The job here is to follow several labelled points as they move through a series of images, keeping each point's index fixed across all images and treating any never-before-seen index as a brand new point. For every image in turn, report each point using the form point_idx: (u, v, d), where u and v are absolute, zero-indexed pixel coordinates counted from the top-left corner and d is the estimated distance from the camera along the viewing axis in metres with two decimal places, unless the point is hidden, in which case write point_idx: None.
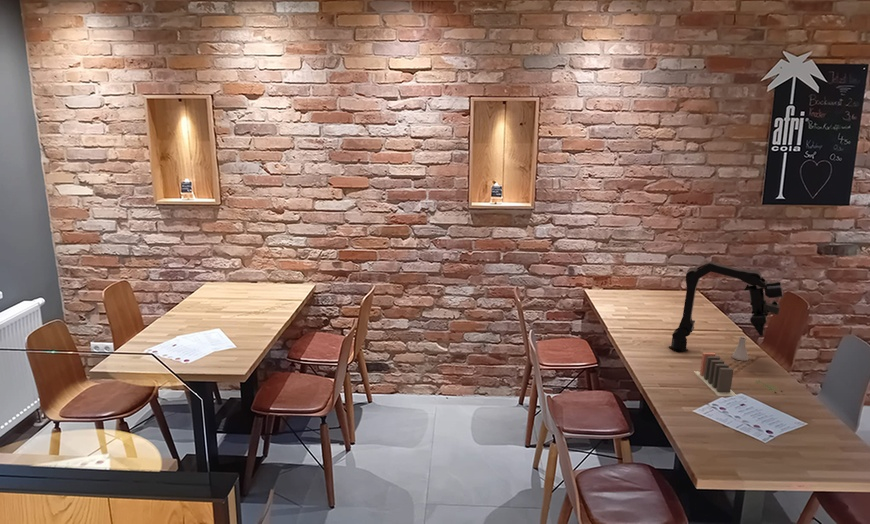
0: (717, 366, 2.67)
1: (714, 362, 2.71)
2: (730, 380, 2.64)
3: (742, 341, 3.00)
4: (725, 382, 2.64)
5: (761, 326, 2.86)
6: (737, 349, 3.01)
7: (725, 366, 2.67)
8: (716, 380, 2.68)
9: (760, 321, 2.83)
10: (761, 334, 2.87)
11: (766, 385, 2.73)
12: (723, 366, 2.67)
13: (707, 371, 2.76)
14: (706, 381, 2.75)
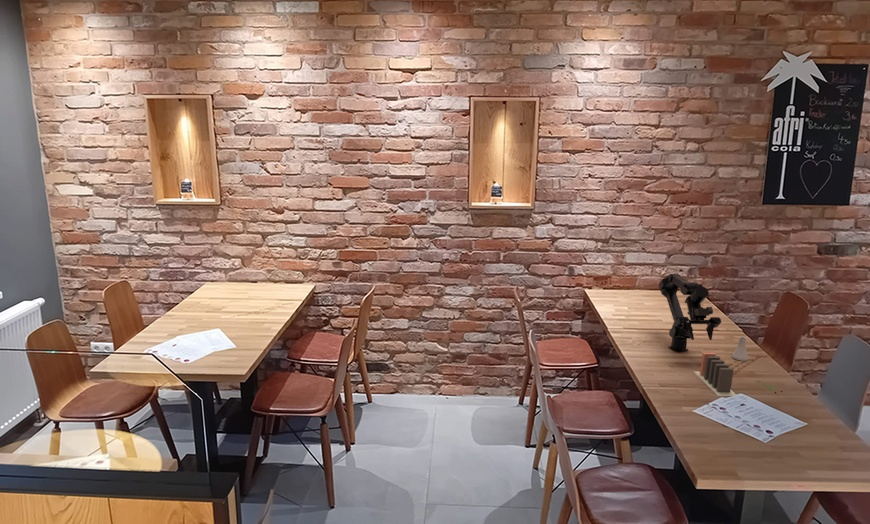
0: (717, 366, 2.67)
1: (714, 362, 2.71)
2: (730, 380, 2.64)
3: (742, 341, 3.00)
4: (725, 382, 2.64)
5: (688, 329, 2.88)
6: (737, 349, 3.01)
7: (725, 366, 2.67)
8: (716, 380, 2.68)
9: (678, 322, 2.90)
10: (692, 338, 2.87)
11: (766, 385, 2.73)
12: (723, 366, 2.67)
13: (707, 371, 2.76)
14: (706, 381, 2.75)
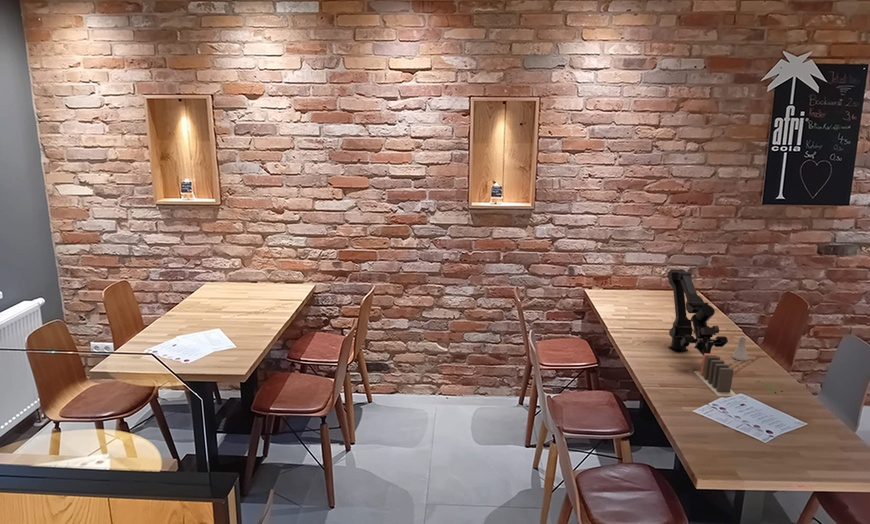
0: (717, 366, 2.67)
1: (714, 362, 2.71)
2: (730, 380, 2.64)
3: (742, 341, 3.00)
4: (725, 382, 2.64)
5: (702, 349, 2.82)
6: (737, 349, 3.01)
7: (725, 366, 2.67)
8: (716, 380, 2.68)
9: (683, 341, 2.83)
10: None
11: (766, 385, 2.73)
12: (723, 366, 2.67)
13: (707, 371, 2.76)
14: (706, 381, 2.75)
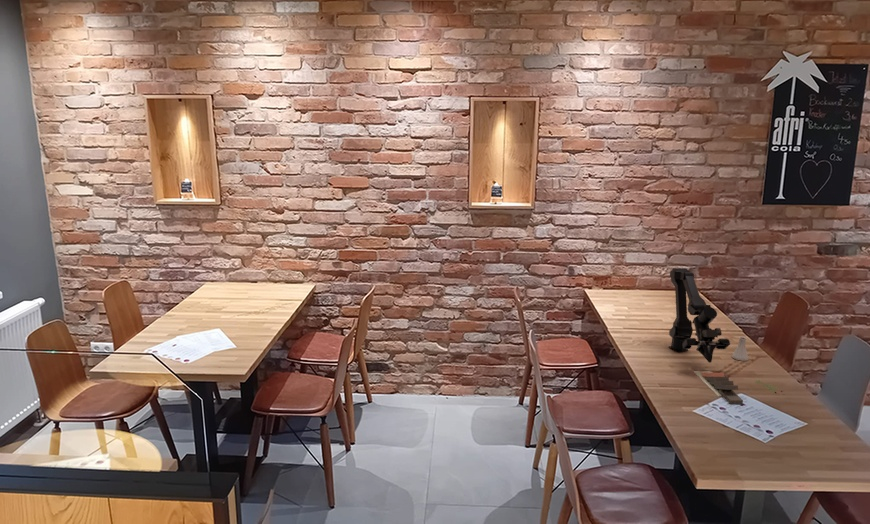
0: None
1: (722, 384, 2.63)
2: None
3: (742, 341, 3.00)
4: None
5: (704, 351, 2.80)
6: (737, 349, 3.01)
7: (734, 389, 2.59)
8: (719, 388, 2.65)
9: (685, 344, 2.81)
10: (708, 360, 2.78)
11: (766, 385, 2.73)
12: (732, 389, 2.59)
13: None
14: (706, 381, 2.75)
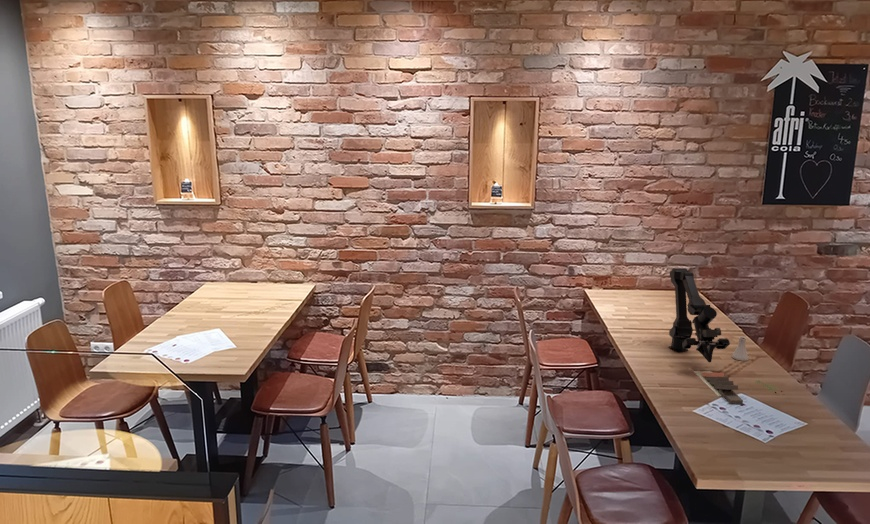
0: (726, 389, 2.59)
1: (722, 384, 2.63)
2: None
3: (742, 341, 3.00)
4: None
5: (704, 351, 2.80)
6: (737, 349, 3.01)
7: (734, 389, 2.59)
8: (719, 388, 2.65)
9: (685, 344, 2.81)
10: (708, 360, 2.79)
11: (766, 385, 2.73)
12: (732, 389, 2.59)
13: None
14: (706, 381, 2.75)
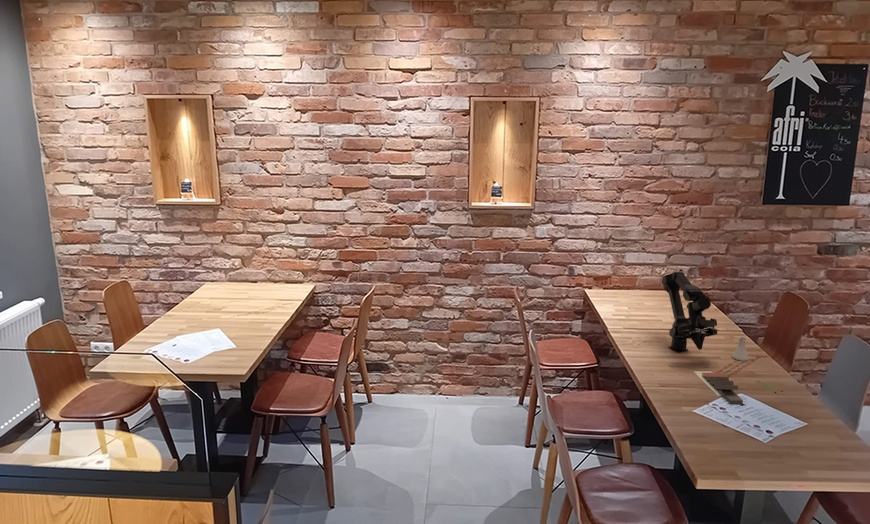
0: (726, 389, 2.59)
1: (722, 384, 2.63)
2: None
3: (742, 341, 3.00)
4: None
5: (697, 338, 2.88)
6: (737, 349, 3.01)
7: (734, 389, 2.59)
8: (719, 388, 2.65)
9: (684, 329, 2.86)
10: (699, 347, 2.88)
11: (766, 385, 2.73)
12: (732, 389, 2.59)
13: None
14: (706, 381, 2.75)
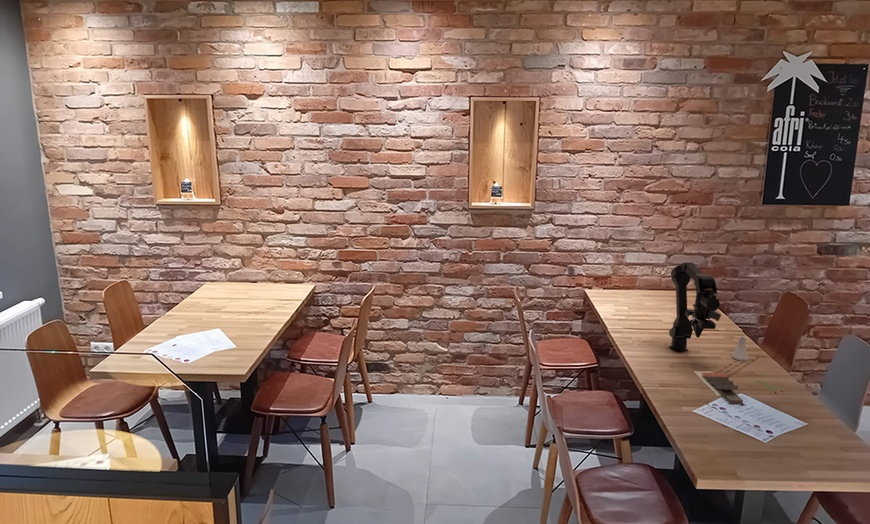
0: (726, 389, 2.59)
1: (722, 384, 2.63)
2: None
3: (742, 341, 3.00)
4: None
5: (701, 328, 2.88)
6: (737, 349, 3.01)
7: (734, 389, 2.59)
8: (719, 388, 2.65)
9: (711, 327, 2.80)
10: (698, 336, 2.90)
11: (766, 385, 2.73)
12: (732, 389, 2.59)
13: None
14: (706, 381, 2.75)
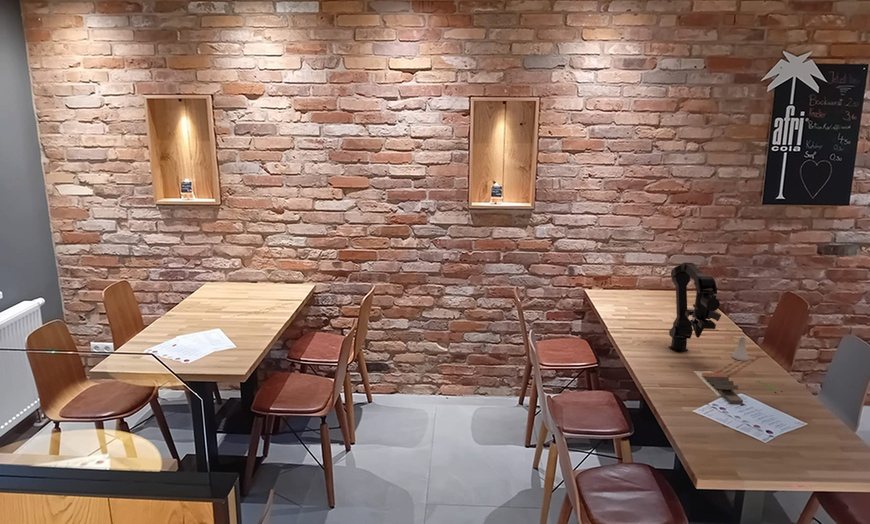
0: (726, 389, 2.59)
1: (722, 384, 2.63)
2: None
3: (742, 341, 3.00)
4: None
5: (701, 328, 2.88)
6: (737, 349, 3.01)
7: (734, 389, 2.59)
8: (719, 388, 2.65)
9: (711, 327, 2.80)
10: (698, 336, 2.90)
11: (766, 385, 2.73)
12: (732, 389, 2.59)
13: None
14: (706, 381, 2.75)
